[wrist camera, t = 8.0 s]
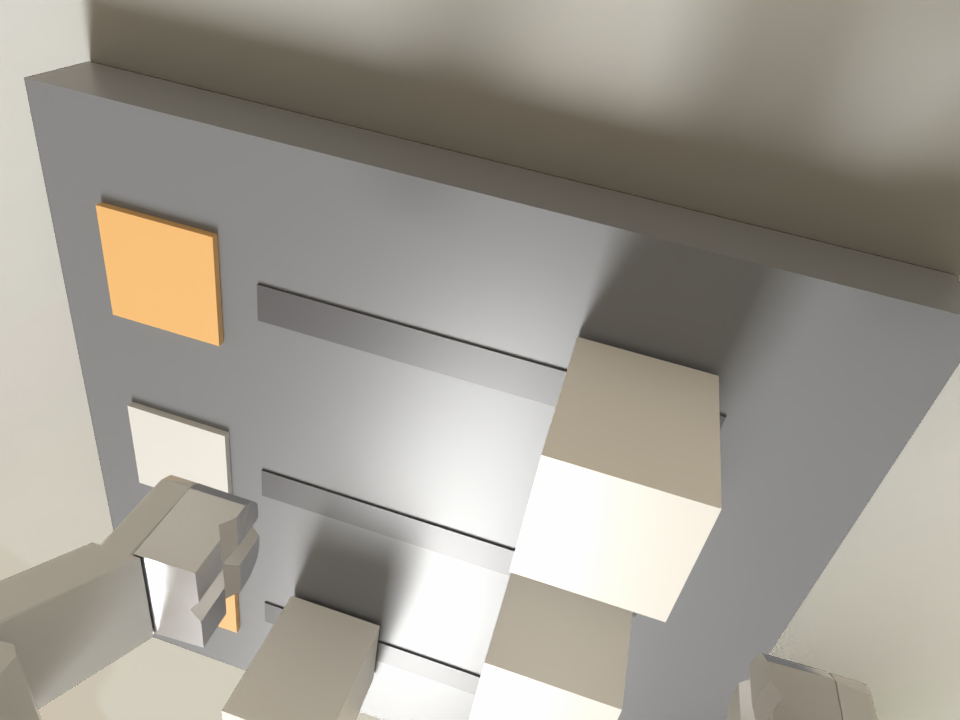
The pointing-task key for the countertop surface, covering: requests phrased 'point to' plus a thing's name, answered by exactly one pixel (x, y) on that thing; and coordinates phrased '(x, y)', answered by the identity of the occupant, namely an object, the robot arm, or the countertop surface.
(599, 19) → the countertop surface
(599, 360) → the cream slider knob
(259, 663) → the switch left
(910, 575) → the countertop surface
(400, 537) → the switch panel
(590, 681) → the switch middle
